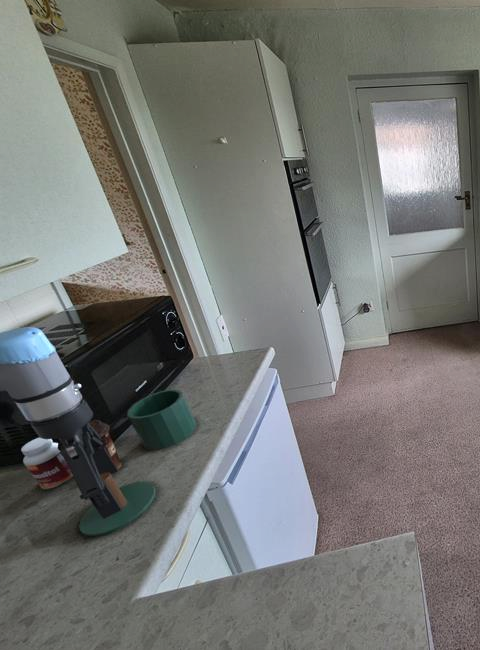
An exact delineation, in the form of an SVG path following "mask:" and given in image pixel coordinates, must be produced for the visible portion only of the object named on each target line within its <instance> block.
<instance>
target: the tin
mask: <svg viewBox="0 0 480 650" xmlns="http://www.w3.org/2000/svg"><path fill="white" fill-rule="evenodd" d="M127 418H128V420H129V421H130V423H131V425H132V427H133V429H134V431H135V432H136V434H137V436H138V438H139V440H140V442H141V444H142V445H143V447H144V448H145V449H146V450H149V451H157V450H162V449H163V450H164V449H166V448H170V447H172V446H174V445H177V444H178V443H180V442H182V441H183V440H185V439H186V438H188V437H189V436H190V435H192V434H193V433H194V431H196V428H197V423H196V420H195V418H194V416H193V413H192V411H191V409H190V406H189V404H188V402H187V400H186V398H185V395H184V394H183V392H182V391H181V390H179V389H165V390H161V391H157V392H156V393H155V392H154V393H151V394H149V395H146V396H145V397H143V398H140V400H137V402H135V403H133V404H132V405H131V406H130V408H129V409H128V410H127Z"/></svg>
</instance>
